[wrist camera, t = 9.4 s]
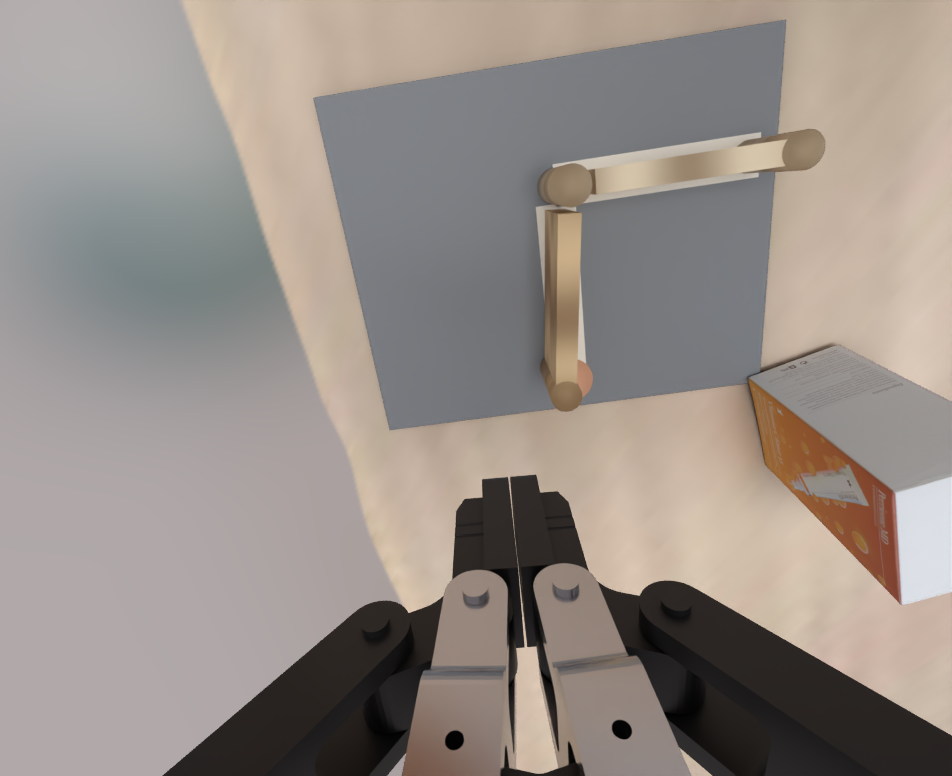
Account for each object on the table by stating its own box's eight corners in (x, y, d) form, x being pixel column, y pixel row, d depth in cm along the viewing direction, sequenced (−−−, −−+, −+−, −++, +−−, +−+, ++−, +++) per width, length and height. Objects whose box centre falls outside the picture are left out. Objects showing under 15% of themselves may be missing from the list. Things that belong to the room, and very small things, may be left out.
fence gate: (539, 210, 30) (552, 214, 25) (569, 208, 30) (588, 212, 25) (539, 380, 34) (551, 412, 29) (566, 379, 34) (582, 410, 29)
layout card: (781, 21, 27) (787, 18, 27) (756, 379, 35) (760, 382, 34) (315, 98, 28) (312, 97, 28) (390, 427, 36) (389, 430, 36)
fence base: (763, 135, 29) (830, 123, 23) (761, 173, 29) (825, 169, 24) (535, 170, 29) (549, 166, 24) (539, 206, 30) (553, 210, 25)
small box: (744, 376, 34) (893, 491, 22) (839, 341, 33) (1047, 443, 21) (762, 467, 37) (901, 610, 26) (849, 437, 37) (1035, 572, 25)
